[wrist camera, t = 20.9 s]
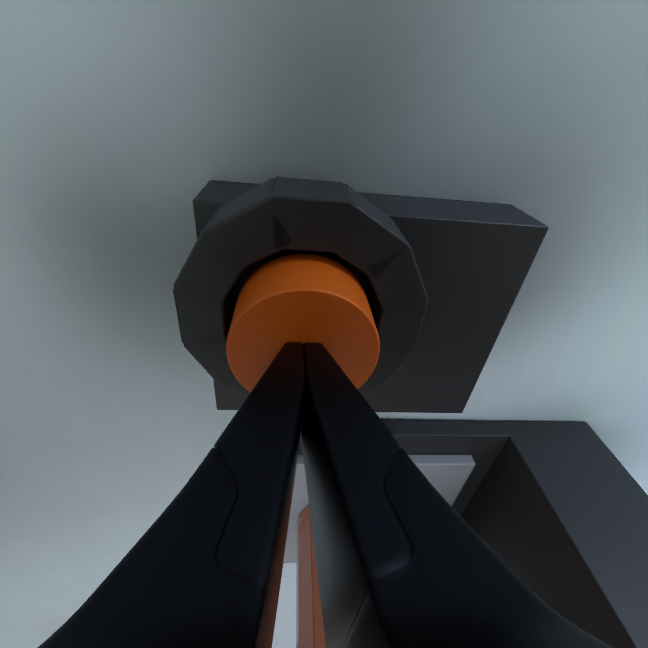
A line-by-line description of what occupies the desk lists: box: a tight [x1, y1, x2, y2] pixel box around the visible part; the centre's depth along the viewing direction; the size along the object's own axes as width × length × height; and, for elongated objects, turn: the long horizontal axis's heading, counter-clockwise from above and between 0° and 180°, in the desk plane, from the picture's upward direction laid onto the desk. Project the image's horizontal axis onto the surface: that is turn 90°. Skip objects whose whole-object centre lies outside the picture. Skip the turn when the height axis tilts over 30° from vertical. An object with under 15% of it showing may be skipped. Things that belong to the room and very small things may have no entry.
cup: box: [296, 505, 326, 648], centre depth 16 cm, size 7×7×10 cm
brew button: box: [226, 254, 380, 393], centre depth 9 cm, size 4×4×2 cm
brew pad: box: [173, 177, 548, 413], centre depth 12 cm, size 10×9×4 cm
